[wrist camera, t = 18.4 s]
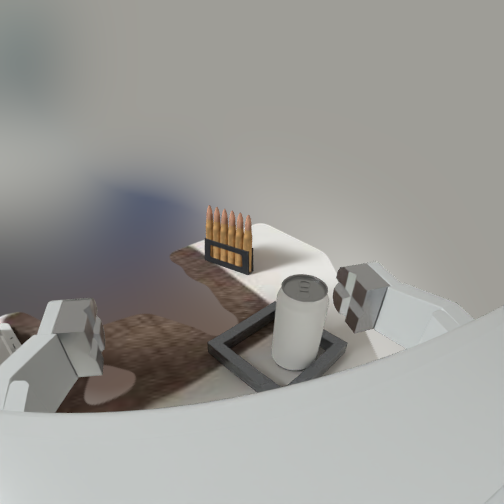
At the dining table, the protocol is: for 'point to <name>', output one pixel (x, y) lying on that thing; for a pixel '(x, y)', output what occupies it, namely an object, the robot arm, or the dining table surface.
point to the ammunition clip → (229, 241)
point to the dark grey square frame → (251, 375)
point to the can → (299, 321)
